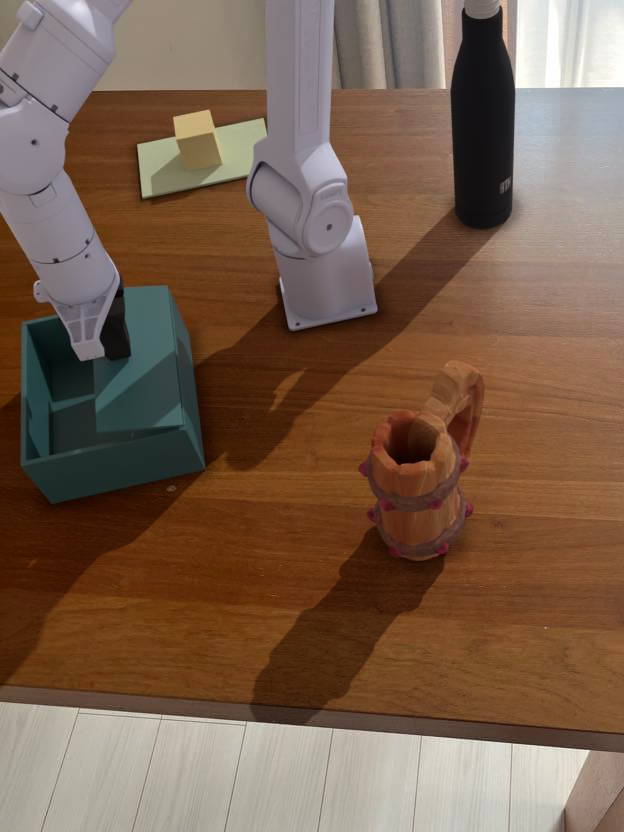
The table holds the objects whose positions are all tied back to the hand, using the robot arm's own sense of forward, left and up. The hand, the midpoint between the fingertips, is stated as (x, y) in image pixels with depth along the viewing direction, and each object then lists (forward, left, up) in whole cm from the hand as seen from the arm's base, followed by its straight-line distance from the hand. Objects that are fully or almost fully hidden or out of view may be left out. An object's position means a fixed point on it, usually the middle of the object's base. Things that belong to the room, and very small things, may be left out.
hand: (120, 353), depth 82 cm
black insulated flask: (-39, -18, -9) cm, 44 cm away
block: (-9, -37, -8) cm, 39 cm away
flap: (-1, 0, -1) cm, 1 cm away
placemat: (-9, -37, -8) cm, 39 cm away
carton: (+3, 0, -8) cm, 9 cm away
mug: (-25, +19, -9) cm, 33 cm away
